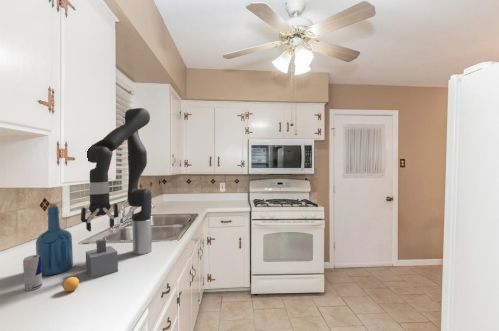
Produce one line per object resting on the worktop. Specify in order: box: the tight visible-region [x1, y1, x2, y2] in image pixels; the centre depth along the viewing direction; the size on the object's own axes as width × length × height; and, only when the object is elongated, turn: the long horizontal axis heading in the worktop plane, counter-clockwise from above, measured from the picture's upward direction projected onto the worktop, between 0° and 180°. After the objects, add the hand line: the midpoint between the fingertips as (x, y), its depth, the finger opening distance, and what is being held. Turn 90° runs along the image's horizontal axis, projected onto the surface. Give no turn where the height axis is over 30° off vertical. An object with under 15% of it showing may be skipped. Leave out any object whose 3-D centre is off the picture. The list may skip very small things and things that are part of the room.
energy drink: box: [22, 254, 43, 292], centre depth 103 cm, size 5×5×12 cm
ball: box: [62, 276, 80, 292], centre depth 101 cm, size 5×5×5 cm
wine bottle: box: [35, 203, 74, 276], centre depth 119 cm, size 14×13×30 cm
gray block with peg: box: [85, 238, 119, 280], centre depth 117 cm, size 10×10×14 cm
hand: (100, 229), depth 117 cm, fingers open, 8 cm apart
